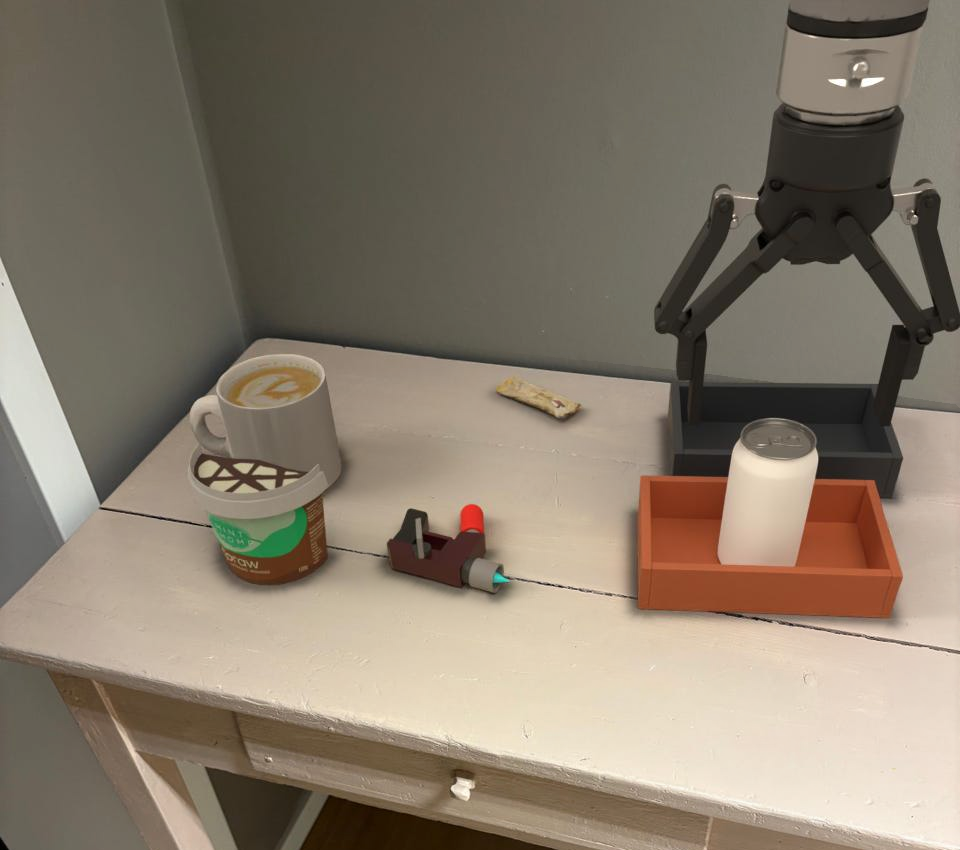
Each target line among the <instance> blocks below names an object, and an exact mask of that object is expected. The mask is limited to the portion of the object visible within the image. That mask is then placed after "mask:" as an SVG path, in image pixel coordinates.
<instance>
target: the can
mask: <svg viewBox="0 0 960 850" xmlns="http://www.w3.org/2000/svg"><path fill="white" fill-rule="evenodd" d="M816 444H817V439H816V436H815V434H814V433H813V432H812V430H810V429H809V428H808V427H806V426H805V425H803V424H801V423H799V422H796V421H793V420H788V419H783V418H765V419H760V420H756V421H753V422H751V423H749V424H748V425H746V426H745V427H744V428H743V430H742V431H741V435H740V439H739V440H738V442H737V443H736V444H735V446H734V449H733V452H732V457H731V463H730V469H729V476H728V482H727V489H726V496H725V502H724V509H723V516H722V522H721V529H720V536H719V544H718V558H719V560H720V563H721V564H725V565H758V566H790V567H795V564H796V561H797V557H798V552H799V548H800V544H801V539H802V535H803V530H804V526H805V521H806V517H807V512H808V508H809V503H810V499H811V494H812V489H813V485H814V480H815V475H816V471H817V465H818V453H817V450H816Z"/></svg>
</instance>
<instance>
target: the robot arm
mask: <svg viewBox="0 0 960 850" xmlns="http://www.w3.org/2000/svg"><path fill="white" fill-rule="evenodd" d="M930 1H931V0H789V3H788V7H787V8H788V9H787V15H786V16H787V17H786V21H785V27H784V33H783V40H782V48H781V55H780V61H779V67H778V75H777V83H776V91H775V94H776V97H777V99H778V100H779V101H780V102H781V104H779V106H778V107H777V108H776V109H775V110H774V112H773V115H772V123H771V129H770V131H771V132H770V138H769V146H768V154H767V161H766V168H765V176H764V180H763V182H762V185H760V188H759V190H757V192H746V191H736V190H732V187H731V186H730V185H729V184H726V183H720V184H718V185H716V186H715V187H714V188H713V191H712V194H711V195H712V196H711V200H710V205H709V209H708V215H707V218H706V220H705V222H704V223H703V225H702V227H701V228H700V230H699V232H698V234H697V236H696V237H695V238H694V240H693V242H692V244H691V245H690V247H689V249H688V251H687V252H686V254H685V255H684V258H683V259H682V261H681V263H680V264H679V266H678V267H677V269H676V271H675V273H674V274H673V276H672V277H671V279H670V281H669V282H668V284H667V287H666V288H665V289H664V291H663V292H662V294H661V296H660V298H659V300H658V301H657V303H656V305H655V307H654V309H653V315H654V316H653V317H654V319H653V322H654V330H655V332H656V333H657V334H659V335H666V334H669V335H672V336H674V337H675V338H676V339H677V345H676V356H675V357H676V359H675V371H676V373H675V374H676V377H677V380H678V381H688V382H689V393H688V404H687V409H688V423H689V425H699V420H700V411H701V401H702V391H703V382H705V381H704V380H705V372H706V371H705V370H706V362H707V361H706V360H707V352H708V338H707V329H709V327H710V326H711V325H712V324H713V323H714V322H715V321H716V320H717V319H718V318H720V316H721V315H722V314H724V312H726V310H727V309H728V308H729V307H731V305H732V304H734V302H735V301H737V300H738V298H739V297H741V296H742V295H743V294H744V293H745V292H746V291H747V290H748V289H749V288H750V287H751V286H752V285H753V284H754V283H755V282H756V281H757V280H758V279H759V278H760V277H761V276H762V275H763V274H767V273H769V272H770V271H771V270H772V269H773V268H774V267H775V266H777V264H778V263H780V261H781V260H782V259H783V260H784V261H786V262H789V263H790V265H792V266H802V265H803V266H804V265H807V264H811V263H815V262H818V263H821V264H825V265H840V264H841V261H844V260H846V259H848V258H850V257H851V256H854V258H856V260H857V261H858V263H859V264H860V266H861V267H862V268H863V270H864V271H865V272H866V273H867V274H868V276H869V277H870V279H871V281H873V283H874V284H875V286H876V288H878V290H879V291H880V293H881V294H882V296H883V297H884V299H885V300H886V302H887V303H888V304H889V306H890V307H891V309H892V310H893V311H894V313H895V314H896V316H897V317H898V319H899V321H900V322H901V323H902V324H892V325H891V329H890V333H889V338H888V342H887V346H886V350H885V354H884V358H883V359H884V360H883V362H882V367H881V371H880V375H879V379H878V383H877V384H878V387H877V391H876V396H875V400H874V404H873V408H874V412H875V415H876V418H877V421H878V424H879V426H890V424H891V423H892V420H893V416H894V411H895V410H896V409H895V408H896V404H897V402H898V397H899V392H900V389H901V386H902V381H911V380H914V379H915V378H916V376H918V374H919V372H920V371H919V370H920V367H921V363H922V359H923V355H924V352H925V348H926V347H927V346H929V345H930V344H931V343H933V341H934V337H935V335H934V334H937V333H940V332H942V331H945V332H947V333H953V332H955V331H957V330H959V328H960V309H959V305H958V300H957V298H956V297H957V296H956V293H955V290H954V286H953V281H952V277H951V274H950V271H949V267H948V262H947V259H946V256H945V252H944V248H943V245H942V241H941V237H940V233H939V230H938V225H939V218H940V210H941V204H942V203H941V202H942V197H941V196H940V194H939V192H938V190H937V188H936V187H935V185H934V183H933V181H932V180H931V179H929V178H927V177H926V178H925V177H924V178H920V179H918V180H917V181H916V182H915V183H914V184H913V185H912V186H910V187H902V188H895V189H892V186H891V181H892V176H893V172H894V169H895V163H896V160H897V159H896V158H897V153H898V149H899V144H900V140H901V135H902V130H903V125H904V121H905V114H904V112H903V111H902V108H901V106H900V105H901V104H903V103H904V102H905V101H907V100H908V98H909V96H910V92H911V87H912V82H913V77H914V71H915V68H916V63H917V58H918V53H919V49H920V42H921V38H922V33H923V29H924V24H925V22H926V20H927V17H928V12H929V5H930ZM892 212H897V213H898V214H899V216H900V219H901V222H903V224H904V225H906V226H910V228H911V231H912V235H913V238H914V242H915V246H916V249H917V253H918V256H919V260H920V263H921V267H922V270H923V273H924V274H923V275H924V277H925V281H926V285H927V288H928V291H929V295H930V298H931V302H932V305H933V306H930V307H927V308H924V309H922V307H921V306H920V304H919V303H918V302H917V300H916V299H915V297H914V296H913V294H912V293H911V291H910V289H908V287H907V285H906V284H905V282H904V281H903V279H902V278H901V277H900V275H899V273H898V272H897V271H896V269H895V268H894V266H893V265H892V264H891V261H889V259H888V257H887V256H886V255H885V253H884V252H883V250H882V249H881V247H880V246H879V244H878V242H877V241H876V239H875V238H874V235H873V234H874V232H876V230H877V229H878V228H879V227H880V226H881V225H882V224H884V222H885V221H886V220H887V219H888V218H889V217H890V216H891V214H892ZM750 215H754V216H755V219H756V220H757V222H758V223H759V226H760V227H761V228H760V229H759V230H758V231H757V232H756V233H755V234H754V235H753V236H752V238H751V239H750V240H749V242H748V244H747V245H746V247H745V248H744V249H743V250H742V251H741V252H740V254H739V255H738V256H736V257H735V259H734V260H732V262H730V263H729V265H728V266H727V267H725V269H724V270H722V271H721V273H720V274H719V275H718V276H717V277H716V278H715V279H714V280H712V282H710V284H709V285H708V286H707V287H706V288H705V289H704V290H703V291H702V292H701V293H700V294H699V295H698V296H697V297H696V298H695V299H694V300H693V301H692V302H691V303H690V304H689V306H687V305H688V303H689V301H690V300H691V298H692V296H693V295H694V293H695V292H696V290H697V289H698V287H699V285H700V283H701V282H702V281H703V279H704V277H705V276H706V274H707V272H708V271H709V269H710V267H711V266H712V264H713V262H714V261H715V259H716V258H717V256H718V254H719V252H720V251H721V249H722V248H723V246H724V245H725V242H726V240H727V238H728V235H729V232H730V230H735V229H737V228H740V226H741V225H742V223H743V221H744V219H746V217H748V216H750ZM686 306H687V307H686Z"/></svg>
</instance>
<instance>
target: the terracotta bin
mask: <svg viewBox="0 0 960 850" xmlns="http://www.w3.org/2000/svg"><path fill="white" fill-rule="evenodd" d="M639 482H640V483H639V493H638V507H637V585H638V586H637V590H638V591H637V608H638V610H661V611H663V610H664V611H685V612H686V611H691V612H713V613H714V612H715V613H716V612H717V613H719V612H720V613H743V614H745V613H746V614H768V615H769V614H771V615H772V614H773V615H798V616H802V615H803V616H826V617H851V618H853V617H855V618H857V617H859V618H880V619H881V618H882V619H885V618H886V619H890V618H891V615H892V612H893V609H894V605H895V603H896V599H897V596H898V593H899V590H900V587H901V584H902V580H903V578H904V575H903V572H902V568H901V565H900V561H899V558H898V555H897V552H896V548H895V545H894V541H893V538H892V535H891V532H890V528H889V525H888V522H887V518H886V514H885V511H884V508H883V504H882V501H881V498H879V494H878V491H877V488H876V484H875V481H874V480H842V479H815V480H814V485H813V489H812V494H811V499H810V503H809V508H808V512H807V517H806V521H805V526H804V530H803V535H802V539H801V544H800V548H799V552H798V557H797V561H796V564H795V567H790V566H758V565H725V564H721V563H720V560H719V558H718V544H719V536H720V529H721V522H722V516H723V509H724V502H725V496H726V489H727V482H728V477H698V476H670V475H647V474H645V475H643V474H641V475H640V480H639Z"/></svg>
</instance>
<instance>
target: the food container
mask: <svg viewBox="0 0 960 850" xmlns="http://www.w3.org/2000/svg"><path fill="white" fill-rule="evenodd" d="M202 448H203V447H202V446H201V445H200V443H199V442H198V443H197V445H196V446H195V447H194V448H193V449H192V452H191V453H190V457H189V460H188V466H187V485H188V487H187V489H188V493H189V495H190V497H191V499H192V501H193V502H194V503H195V504H196V505H197V506H198V507H199V508H201V509H202V510H204V511H205V513H206V516H207V519H208V521H209V523H210V525H211V528H212V530H213V533H214V535H215V537H216V540H217V542H218V545H219V547H220V549H221V552H222V554H223V556H224V557H223V558H224V560H225V561H226V564H227V566H228V569H229V570H230V571H231V572H232V573H233V574H234V575H235V577H237V578H238V579H240V580H242V581H245V582H246V583H250V584H254V585H259V586H274V585H275V586H276V585H282V584H288V583H291V582H296V581H298V580H300V579H302V578H304V577H306V576H308V575H310V574H312V573H313V572H316V570H318V569H319V568H320V567H321V566H322V565H324V563H325V562H326V561H327V560H328V558H329V555H328V544H327V543H328V542H327V533H326V521H325V510H324V509H325V508H324V499H323V497H324V496H323V493H324V492H325V491H326V490H327V489H328V488H327V487H328V486H329V485H328V483H327V480H326V478H325V475H324V472H323V471H320V467H319V464H317V465H316V466H315V467H314V468H313V469H312V470H311V471H310V472H305V471H298V470H293V469H288V468H284V467H281V466H278V465H275V464H272V463H268V462H265V461H261V460H255V459H233V458H228V457H225V456H218V455H214V454H213V455H212V454H206V453H204V450H203V449H202ZM326 488H327V489H326ZM325 489H326V490H325Z"/></svg>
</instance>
